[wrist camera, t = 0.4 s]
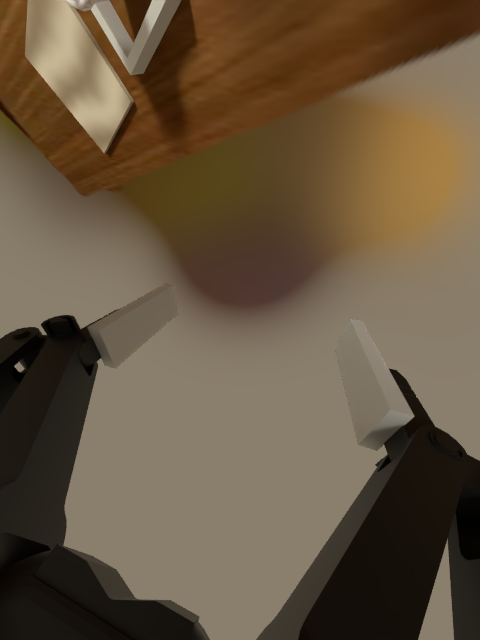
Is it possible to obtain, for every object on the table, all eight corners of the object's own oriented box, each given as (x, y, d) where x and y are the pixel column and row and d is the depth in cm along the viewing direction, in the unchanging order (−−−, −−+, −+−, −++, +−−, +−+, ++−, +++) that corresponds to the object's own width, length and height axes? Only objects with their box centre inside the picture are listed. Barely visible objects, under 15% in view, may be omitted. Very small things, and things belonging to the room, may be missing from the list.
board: (29, 55, 31) (24, 55, 31) (36, -53, 22) (30, -54, 22) (106, 151, 39) (104, 153, 39) (134, 101, 31) (130, 101, 30)
